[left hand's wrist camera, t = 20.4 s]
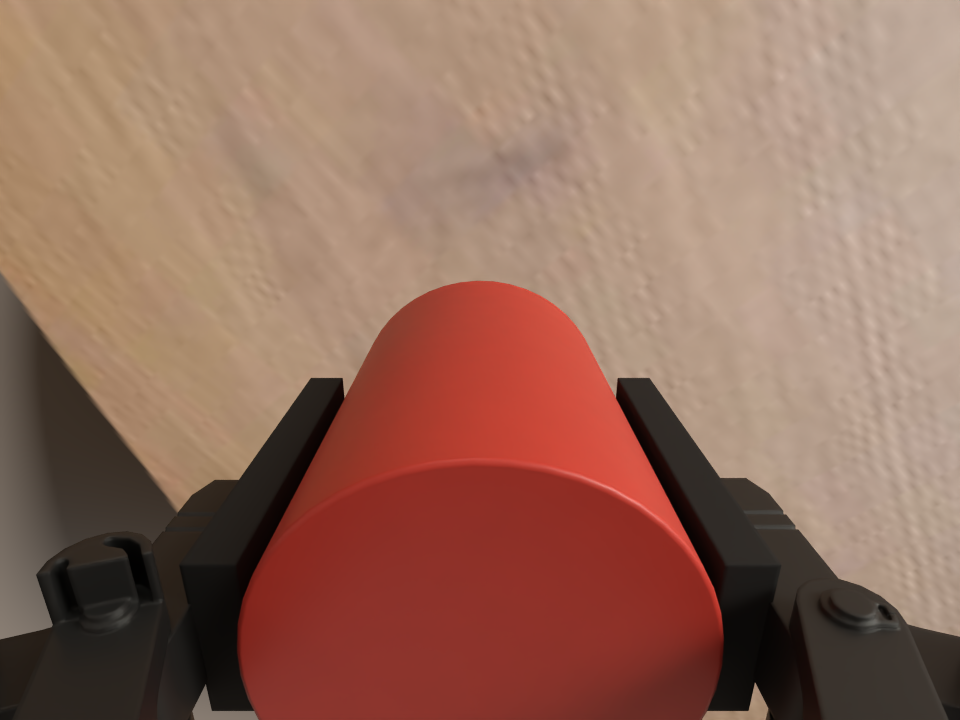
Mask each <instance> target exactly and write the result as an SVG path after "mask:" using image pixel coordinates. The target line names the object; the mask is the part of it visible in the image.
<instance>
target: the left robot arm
mask: <svg viewBox="0 0 960 720" xmlns="http://www.w3.org/2000/svg"><path fill="white" fill-rule="evenodd" d="M616 400H617V402H618V403H619V405H620V407H621V409H622V411H623V413H624V415H625V417H626V419H627V421H628V423H629V425H630V426H631V428H632V430H633V432H634V434H635V436H636V438H637V440H638V442H639V444H640V446H641V448H642V449H643V451H644V453H645V455H646V457H647V459H648V461H649V463H650V465H651V467H652V469H653V471H654V472H655V474H656V476H657V478H658V480H659V482H660V484H661V486H662V488H663V490H664V492H665V494H666V495H667V497H668V499H669V501H670V503H671V505H672V507H673V509H674V511H675V513H676V515H677V517H678V518H679V520H680V522H681V524H682V526H683V528H684V530H685V532H686V534H687V536H688V538H689V540H690V541H691V543H692V545H693V547H694V549H695V551H696V553H697V555H698V557H699V559H700V561H701V563H702V564H703V567H704V569H705V571H706V573H707V575H708V577H709V579H710V581H711V583H712V585H713V587H714V590H715V593H716V597H717V600H718V603H719V607H720V610H721V615H722V625H723V634H724V645H723V659H722V668H721V672H720V676H719V680H718V684H717V688H716V691H715V693H714V696H713V698H712V700H711V703H710V705H709V707H708V710H707V711H749V706H750V702H751V697H752V693H753V689H754V684H755V683H756V685H757V687H758V689H759V691H760V693H761V694H762V696H763V698H764V700H765V702H766V704H767V706H768V712H767V717H766V720H960V637H958V636H953V635H949V634H945V633H940V632H936V631H931V630H927V629H923V628H918V627H915V626H911V625H908V624H907V623H906V622H905V620H904V619H903V617H902V616H901V615H900V613H899V612H898V610H897V609H896V608H894V607H893V606H892V605H891V604H889V603H888V602H887V601H886V600H885V599H883V598H882V597H881V596H879V595H877V594H875V593H873V592H872V591H870V590H868V589H866V588H864V587H862V586H860V585H857V584H853V583H850V582H847V581H844V580H841V579H838V578H837V576H836V575H835V574H834V573H833V572H832V570H831V569H830V568H829V567H828V565H827V564H826V563H825V562H824V560H823V559H822V558H821V557H820V556H819V554H818V553H817V552H816V551H815V549H814V548H813V547H812V546H811V545H810V543H809V542H808V541H807V540H806V538H805V537H804V536H803V535H802V533H801V532H800V531H799V530H796V529H795V525H794V524H793V522H792V521H791V520H790V519H789V518H788V516H787V515H784V514H783V510H782V509H781V508H780V506H779V505H778V504H777V503H776V502H775V500H774V499H773V498H772V497H771V495H770V494H769V493H768V492H766V491H764V490H763V489H761V488H760V487H758V486H757V485H755V484H754V483H752V482H751V481H749V480H748V479H746V478H720V477H719V476H718V474H717V473H716V472H715V470H714V469H713V467H712V466H711V464H710V463H709V462H708V460H707V459H706V457H705V456H704V455H703V453H702V452H701V450H700V449H699V448H698V446H697V445H696V443H695V442H694V440H693V439H692V438H691V436H690V435H689V433H688V432H687V431H686V429H685V428H684V426H683V425H682V423H681V422H680V421H679V419H678V418H677V416H676V415H675V414H674V412H673V411H672V409H671V408H670V407H669V405H668V404H667V402H666V401H665V399H664V398H663V397H662V395H661V394H660V392H659V391H658V390H657V388H656V387H655V385H654V384H653V382H652V381H651V380H650V378H618V382H617V393H616ZM343 401H344V388H343V378H311V379H310V380H309V382H308V383H307V385H306V386H305V387H304V389H303V390H302V392H301V393H300V394H299V396H298V397H297V399H296V400H295V401H294V403H293V404H292V406H291V407H290V409H289V410H288V411H287V413H286V414H285V416H284V417H283V418H282V420H281V421H280V423H279V424H278V426H277V427H276V428H275V430H274V431H273V433H272V434H271V435H270V437H269V438H268V440H267V441H266V442H265V444H264V445H263V447H262V448H261V450H260V451H259V452H258V454H257V455H256V457H255V458H254V459H253V461H252V462H251V464H250V465H249V467H248V468H247V469H246V471H245V472H244V474H243V475H242V476H241V478H240V479H239V480H214V481H213V482H211V483H210V484H208V485H207V486H205V487H204V488H202V489H201V490H199V491H198V492H196V493H195V494H193V495H192V496H191V497H190V498H189V500H188V501H187V502H186V503H185V505H184V506H183V507H182V508H181V509H180V511H179V512H178V516H177V517H174V518H173V519H172V521H171V522H170V523H169V524H168V526H167V527H166V531H165V532H162V533H161V534H160V535H159V537H158V538H157V539H156V540H155V542H154V543H153V544H151V541H150V540H149V539H147V538H146V537H145V536H144V535H142V534H138V533H133V532H127V531H126V532H114V533H106V534H102V535H98V536H95V537H91V538H88V539H85V540H82V541H80V542H78V543H76V544H74V545H72V546H70V547H68V548H65V549H64V550H62V551H61V552H59V553H58V554H57V555H55V556H54V557H52V558H51V559H50V560H48V561H47V562H46V563H45V565H44V566H43V567H42V568H41V569H40V571H39V572H38V573H37V574H36V576H37V579H38V582H39V585H40V588H41V591H42V594H43V597H44V599H45V603H46V606H47V609H48V611H49V614H50V618H51V620H52V623H53V626H52V627H51V628H47V629H44V630H40V631H36V632H31V633H27V634H23V635H18V636H14V637H9V638H5V639H1V640H0V720H194V717H193V713H192V710H193V708H194V706H195V704H196V702H197V700H198V698H199V696H200V694H201V692H202V690H203V688H204V686H205V684H206V687H207V691H208V695H209V700H210V704H211V709H212V711H254V709H253V707H252V705H251V703H250V701H249V699H248V697H247V694H246V691H245V688H244V685H243V681H242V678H241V675H240V668H239V661H238V654H237V632H238V620H239V615H240V610H241V605H242V601H243V597H244V595H245V592H246V590H247V587H248V585H249V582H250V580H251V577H252V575H253V573H254V571H255V569H256V567H257V565H258V563H259V561H260V559H261V557H262V556H263V554H264V552H265V550H266V548H267V546H268V544H269V542H270V540H271V538H272V536H273V535H274V533H275V531H276V529H277V527H278V525H279V523H280V521H281V519H282V517H283V515H284V513H285V512H286V510H287V508H288V506H289V504H290V502H291V500H292V498H293V496H294V494H295V492H296V491H297V489H298V487H299V485H300V483H301V481H302V479H303V477H304V475H305V473H306V471H307V470H308V468H309V466H310V464H311V462H312V460H313V458H314V456H315V454H316V452H317V450H318V449H319V447H320V445H321V443H322V441H323V439H324V437H325V435H326V433H327V431H328V429H329V428H330V426H331V424H332V422H333V420H334V418H335V416H336V414H337V412H338V410H339V408H340V407H341V405H342V403H343Z"/></svg>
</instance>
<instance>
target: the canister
mask: <svg viewBox="0 0 960 720" xmlns="http://www.w3.org/2000/svg"><path fill="white" fill-rule="evenodd" d="M723 645H724V634H723V625H722V615H721V610H720V607H719V603H718V600H717V597H716V593H715V590H714V587H713V585H712V583H711V581H710V579H709V577H708V575H707V573H706V571H705V569H704V567H703V564H702V563H701V561H700V559H699V557H698V555H697V553H696V551H695V549H694V547H693V545H692V543H691V541H690V540H689V538H688V536H687V534H686V532H685V530H684V528H683V526H682V524H681V522H680V520H679V518H678V517H677V515H676V513H675V511H674V509H673V507H672V505H671V503H670V501H669V499H668V497H667V495H666V494H665V492H664V490H663V488H662V486H661V484H660V482H659V480H658V478H657V476H656V474H655V472H654V471H653V469H652V467H651V465H650V463H649V461H648V459H647V457H646V455H645V453H644V451H643V449H642V448H641V446H640V444H639V442H638V440H637V438H636V436H635V434H634V432H633V430H632V428H631V426H630V425H629V423H628V421H627V419H626V417H625V415H624V413H623V411H622V409H621V407H620V405H619V403H618V402H617V400H616V398H615V396H614V394H613V392H612V390H611V388H610V386H609V384H608V382H607V381H606V379H605V377H604V375H603V373H602V371H601V369H600V367H599V365H598V363H597V361H596V359H595V358H594V356H593V354H592V352H591V350H590V348H589V346H588V344H587V342H586V340H585V338H584V337H583V335H582V334H581V332H580V331H579V329H578V328H577V327H576V325H575V324H574V323H573V322H572V321H571V320H570V319H569V317H568V316H567V315H566V314H565V313H563V312H562V311H561V310H560V309H559V308H557V307H556V306H555V305H554V304H552V303H551V302H549V301H548V300H546V299H544V298H543V297H541V296H540V295H537V294H535V293H533V292H531V291H529V290H526V289H524V288H520V287H517V286H514V285H510V284H505V283H499V282H493V281H471V282H460V283H456V284H451V285H447V286H443V287H440V288H438V289H435V290H432V291H429V292H427V293H426V294H424V295H422V296H420V297H418V298H416V299H414V300H413V301H411V302H410V303H409V304H407V305H406V306H404V307H403V308H402V309H401V310H400V311H399V312H397V313H396V314H395V315H394V316H393V317H392V318H391V319H390V320H389V322H388V323H387V324H386V325H385V327H384V328H383V329H382V330H381V332H380V333H379V335H378V337H377V338H376V340H375V342H374V343H373V345H372V347H371V349H370V351H369V353H368V355H367V357H366V359H365V361H364V363H363V364H362V366H361V368H360V370H359V372H358V374H357V376H356V378H355V380H354V382H353V384H352V386H351V387H350V389H349V391H348V393H347V395H346V397H345V399H344V401H343V403H342V405H341V407H340V408H339V410H338V412H337V414H336V416H335V418H334V420H333V422H332V424H331V426H330V428H329V429H328V431H327V433H326V435H325V437H324V439H323V441H322V443H321V445H320V447H319V449H318V450H317V452H316V454H315V456H314V458H313V460H312V462H311V464H310V466H309V468H308V470H307V471H306V473H305V475H304V477H303V479H302V481H301V483H300V485H299V487H298V489H297V491H296V492H295V494H294V496H293V498H292V500H291V502H290V504H289V506H288V508H287V510H286V512H285V513H284V515H283V517H282V519H281V521H280V523H279V525H278V527H277V529H276V531H275V533H274V535H273V536H272V538H271V540H270V542H269V544H268V546H267V548H266V550H265V552H264V554H263V556H262V557H261V559H260V561H259V563H258V565H257V567H256V569H255V571H254V573H253V575H252V577H251V580H250V582H249V585H248V587H247V590H246V592H245V595H244V597H243V601H242V605H241V610H240V615H239V620H238V632H237V654H238V661H239V668H240V675H241V678H242V681H243V685H244V688H245V691H246V694H247V697H248V699H249V701H250V703H251V705H252V707H253V709H254V711H255V713H256V715H257V717H258V719H259V720H702V718H703V717H704V715H705V713H706V712H707V710H708V707H709V705H710V703H711V700H712V698H713V696H714V693H715V691H716V688H717V684H718V680H719V676H720V672H721V668H722V659H723Z"/></svg>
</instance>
